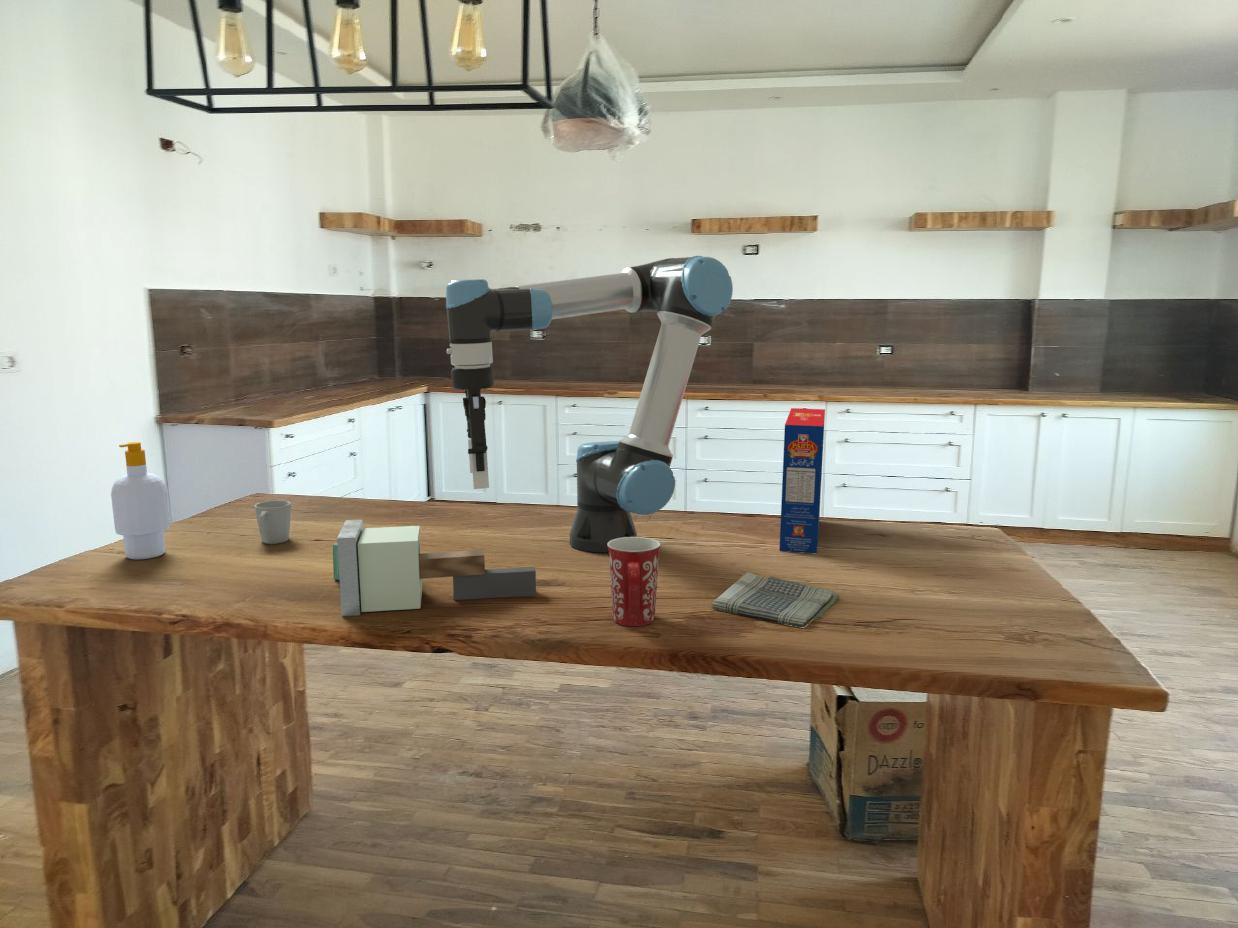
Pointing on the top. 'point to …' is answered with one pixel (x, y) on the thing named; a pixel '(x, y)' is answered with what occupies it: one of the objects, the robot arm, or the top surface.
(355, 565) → the grey base plate
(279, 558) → the top surface
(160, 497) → the soap bottle
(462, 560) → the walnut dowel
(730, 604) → the dish towel
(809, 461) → the pasta box
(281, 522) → the cup
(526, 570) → the rubber rail
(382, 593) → the block
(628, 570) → the mug
